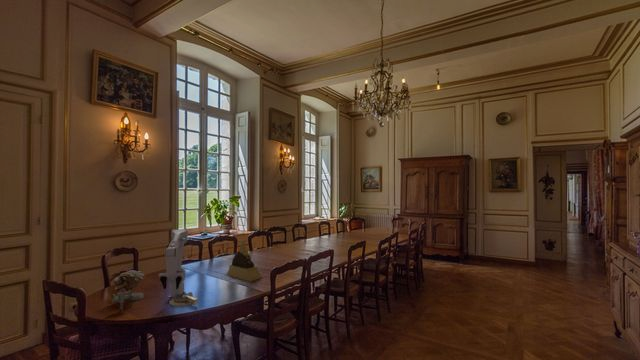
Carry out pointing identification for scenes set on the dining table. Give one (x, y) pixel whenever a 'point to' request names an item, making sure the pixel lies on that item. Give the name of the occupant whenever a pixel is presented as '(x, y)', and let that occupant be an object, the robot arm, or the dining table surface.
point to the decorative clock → (243, 265)
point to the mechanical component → (122, 297)
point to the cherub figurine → (128, 285)
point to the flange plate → (179, 303)
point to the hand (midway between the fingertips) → (171, 288)
